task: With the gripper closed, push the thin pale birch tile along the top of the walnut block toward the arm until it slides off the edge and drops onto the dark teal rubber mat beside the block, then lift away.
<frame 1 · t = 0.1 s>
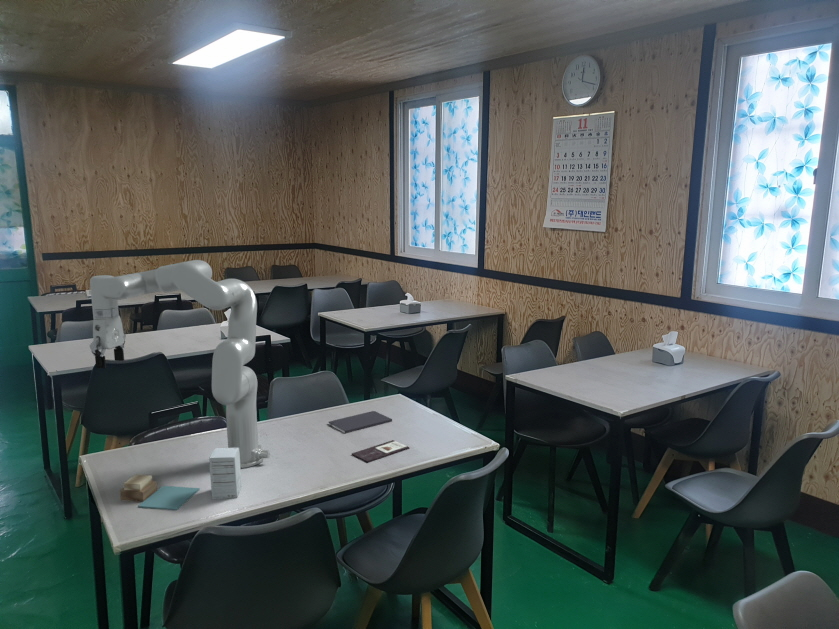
hand: (110, 364, 210), 31 cm above the table, tool pointing down, fingers open, 9 cm apart
supplement box: (227, 493, 186), on the table
birch tile: (138, 482, 184), point 4 cm above the table, touching walnut block
walnut block: (139, 495, 184), on the table
notebook: (360, 424, 244), on the table
rubber mat: (169, 498, 183), on the table
chocolate bar: (380, 453, 216), on the table
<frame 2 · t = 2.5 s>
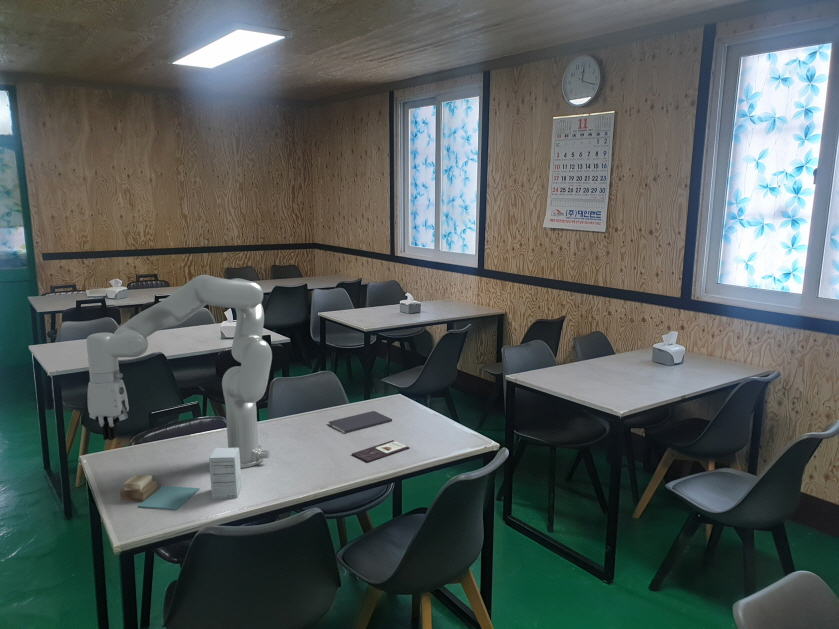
hand: (110, 438, 182), 17 cm above the table, tool pointing down, fingers closed
nothing on the table moved.
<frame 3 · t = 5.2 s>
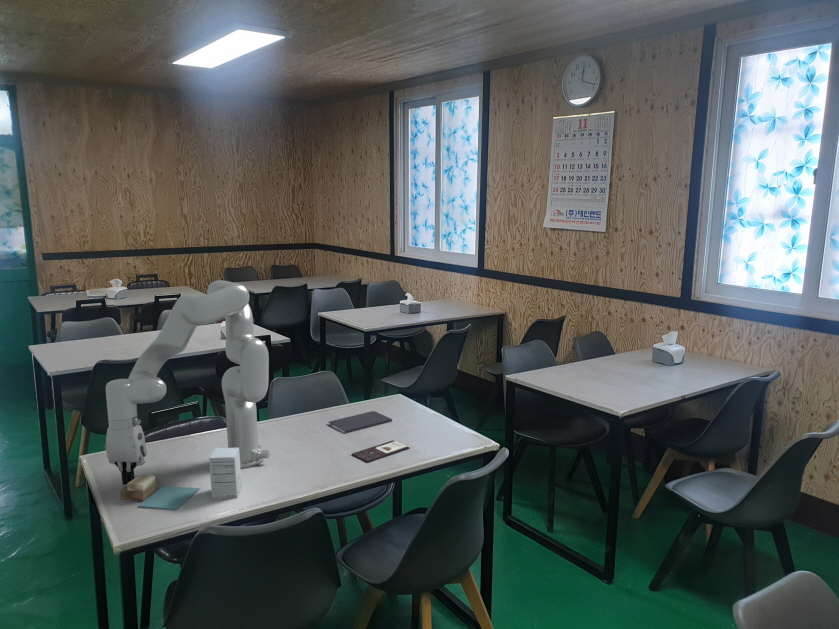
hand: (128, 482, 184), 4 cm above the table, tool pointing down, fingers closed
birch tile: (141, 483, 183), point 4 cm above the table, touching gripper, walnut block
everything else where it was.
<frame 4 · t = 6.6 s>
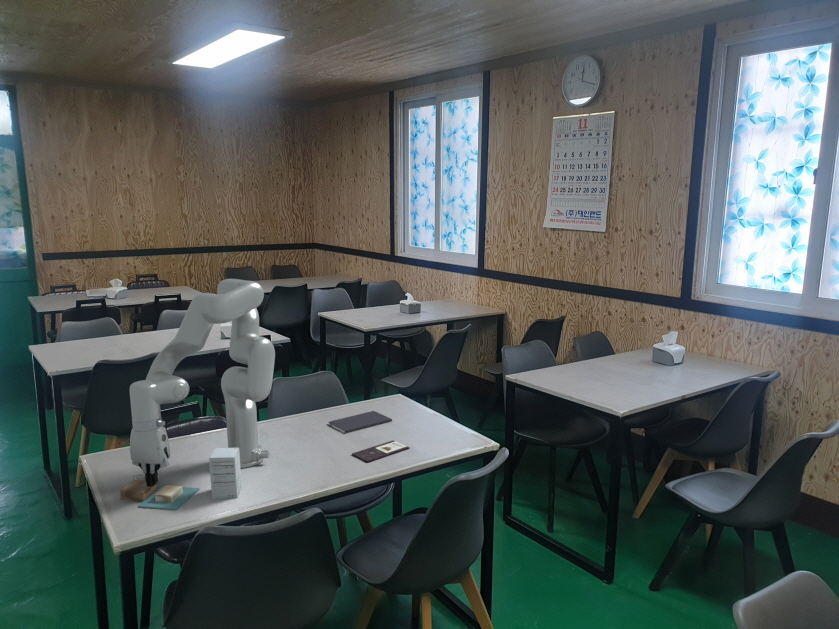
hand: (152, 484, 183), 4 cm above the table, tool pointing down, fingers closed
birch tile: (169, 493, 182), point 1 cm above the table, tilted 180°, touching rubber mat
everything else where it was.
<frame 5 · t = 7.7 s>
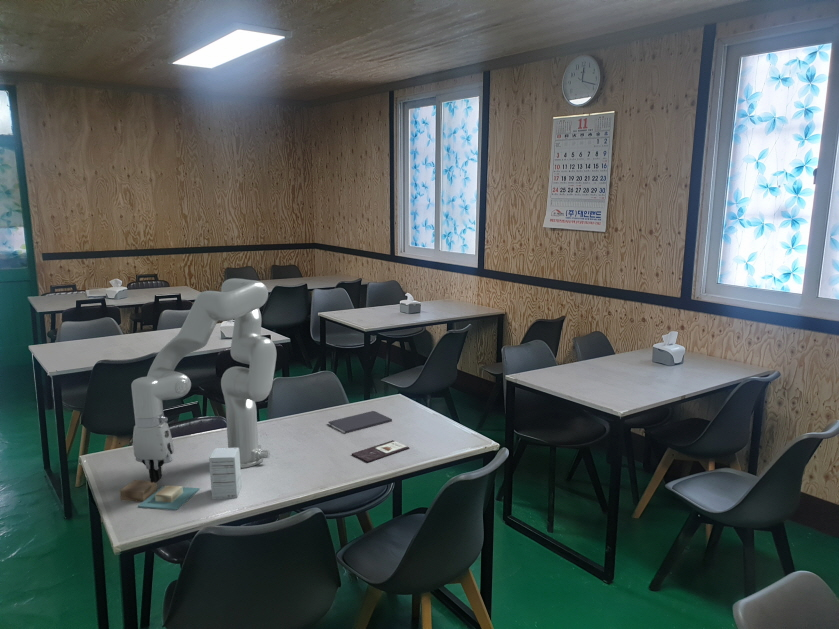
hand: (156, 480, 183), 5 cm above the table, tool pointing down, fingers closed
nothing on the table moved.
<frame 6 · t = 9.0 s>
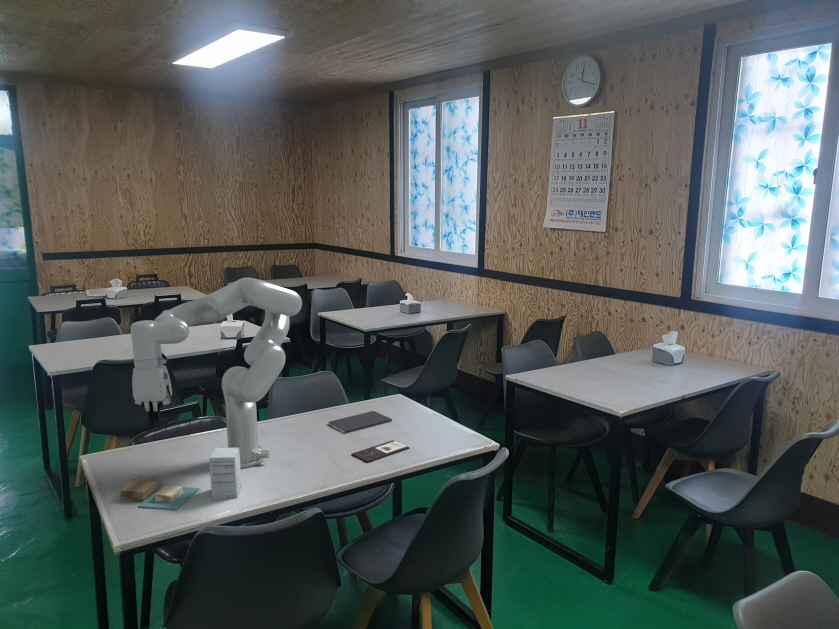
hand: (155, 422, 188), 19 cm above the table, tool pointing down, fingers closed
nothing on the table moved.
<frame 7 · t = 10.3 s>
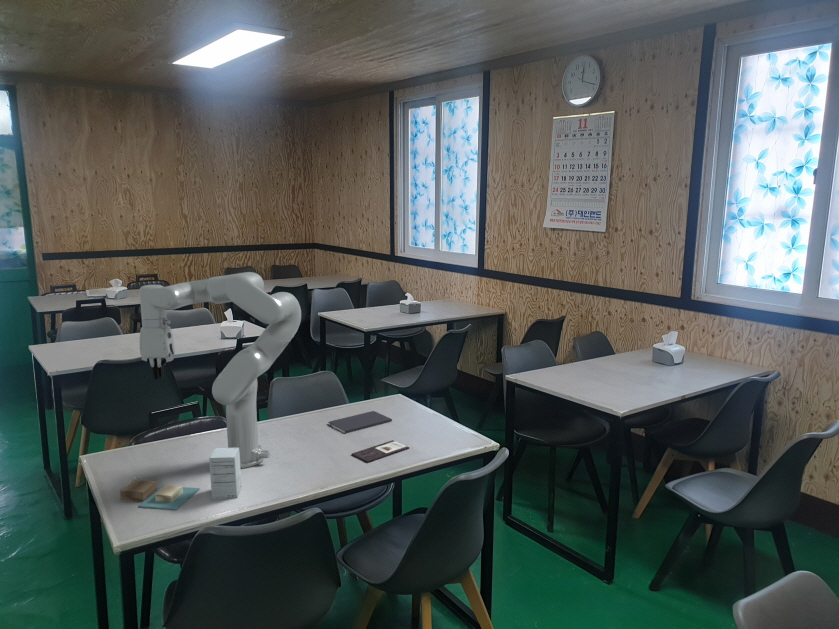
hand: (159, 377, 208), 27 cm above the table, tool pointing down, fingers closed
nothing on the table moved.
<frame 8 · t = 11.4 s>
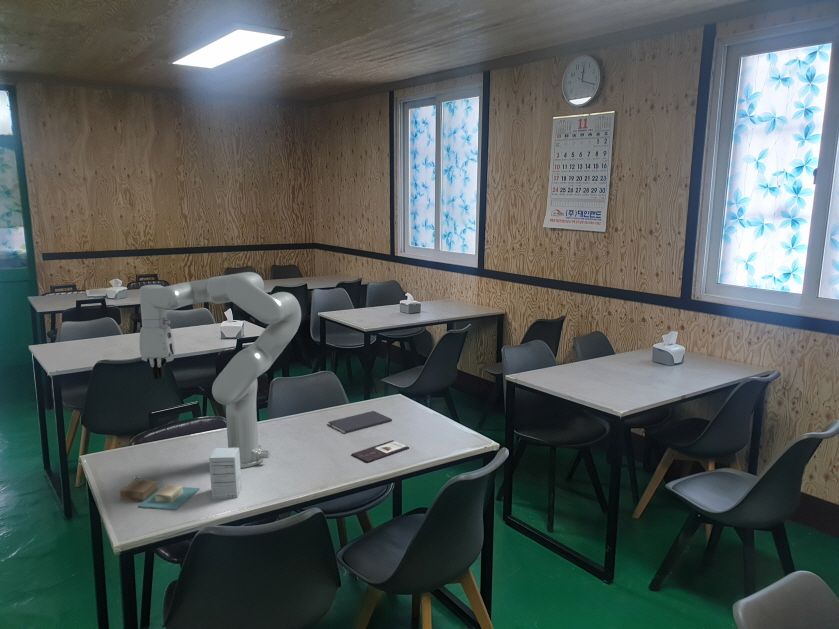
hand: (159, 377, 208), 27 cm above the table, tool pointing down, fingers closed
nothing on the table moved.
at the end: birch tile inside the target area (0.9 cm from its centre), point 1.4 cm above the table; birch tile point 1.4 cm above the table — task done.
